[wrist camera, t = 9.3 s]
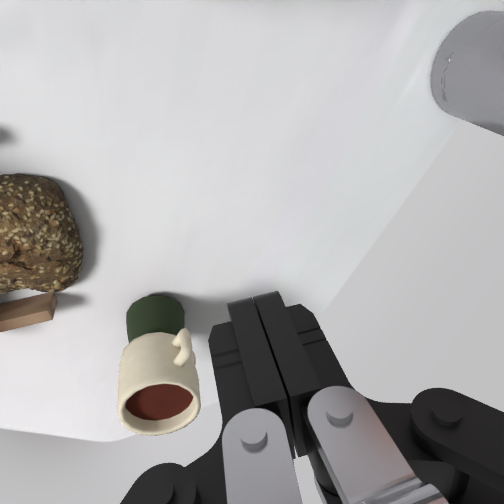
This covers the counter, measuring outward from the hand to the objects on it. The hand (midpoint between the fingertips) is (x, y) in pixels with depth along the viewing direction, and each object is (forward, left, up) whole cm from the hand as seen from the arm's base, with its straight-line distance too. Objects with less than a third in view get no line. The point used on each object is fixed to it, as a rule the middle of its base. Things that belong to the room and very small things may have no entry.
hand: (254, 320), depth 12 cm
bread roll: (+18, +9, -29) cm, 35 cm away
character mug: (+8, +22, -29) cm, 37 cm away
